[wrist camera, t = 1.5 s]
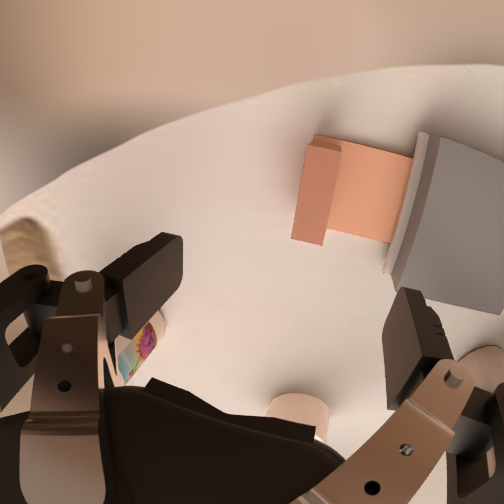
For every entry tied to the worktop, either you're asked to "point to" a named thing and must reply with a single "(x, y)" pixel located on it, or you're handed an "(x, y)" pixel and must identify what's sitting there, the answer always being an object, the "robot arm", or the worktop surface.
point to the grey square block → (451, 227)
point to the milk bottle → (138, 347)
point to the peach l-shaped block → (349, 191)
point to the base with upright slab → (302, 411)
